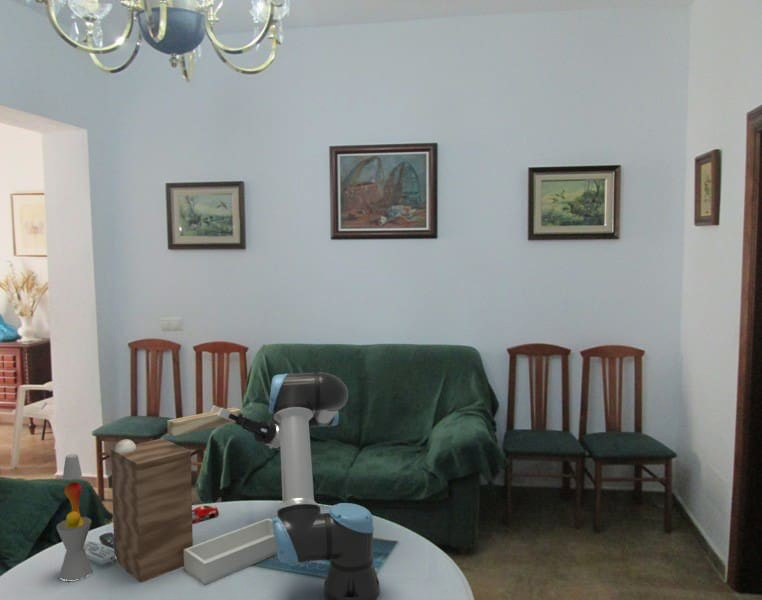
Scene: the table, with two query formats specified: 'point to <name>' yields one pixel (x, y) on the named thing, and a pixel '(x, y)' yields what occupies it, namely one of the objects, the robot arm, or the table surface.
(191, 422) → the wooden board
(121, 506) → the wooden block
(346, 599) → the robot arm
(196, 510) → the race car
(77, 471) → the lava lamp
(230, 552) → the tray
